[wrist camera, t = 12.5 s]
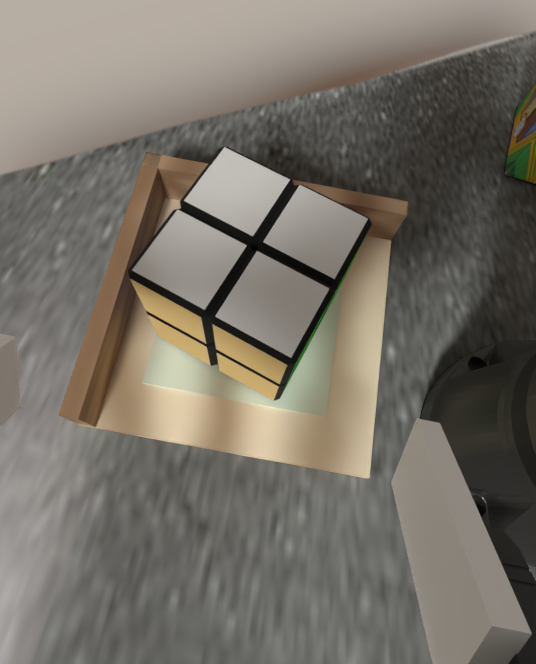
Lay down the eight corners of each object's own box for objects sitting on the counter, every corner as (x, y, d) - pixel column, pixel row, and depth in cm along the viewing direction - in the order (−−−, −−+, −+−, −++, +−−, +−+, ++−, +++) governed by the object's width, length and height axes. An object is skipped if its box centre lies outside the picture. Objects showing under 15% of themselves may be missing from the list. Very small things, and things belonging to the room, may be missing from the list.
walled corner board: (389, 233, 38) (407, 201, 34) (366, 478, 31) (386, 476, 27) (155, 189, 38) (146, 152, 34) (81, 425, 31) (58, 415, 27)
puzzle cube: (225, 232, 36) (221, 140, 26) (338, 291, 35) (376, 216, 25) (154, 336, 33) (122, 273, 23) (277, 404, 32) (294, 366, 22)
